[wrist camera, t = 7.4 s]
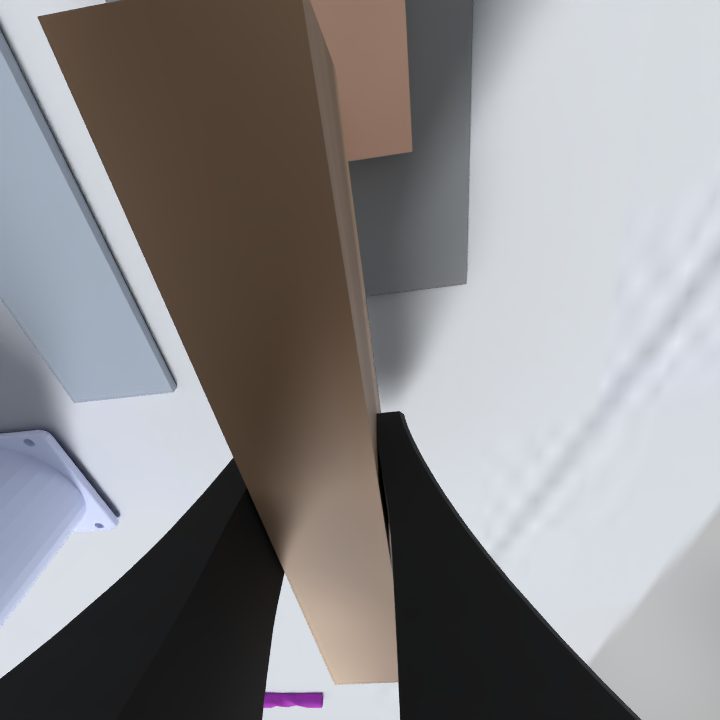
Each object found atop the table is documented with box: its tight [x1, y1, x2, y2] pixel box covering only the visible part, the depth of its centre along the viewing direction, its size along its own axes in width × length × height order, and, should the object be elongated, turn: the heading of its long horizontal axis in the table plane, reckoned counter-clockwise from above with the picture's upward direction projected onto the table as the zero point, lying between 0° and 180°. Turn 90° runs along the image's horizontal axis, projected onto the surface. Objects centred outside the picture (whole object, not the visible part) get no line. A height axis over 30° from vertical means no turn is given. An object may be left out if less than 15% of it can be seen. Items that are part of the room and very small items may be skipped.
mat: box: [105, 0, 473, 296], centre depth 10 cm, size 10×16×1 cm, turn 8°
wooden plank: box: [38, 0, 398, 685], centre depth 9 cm, size 2×16×5 cm, turn 8°
